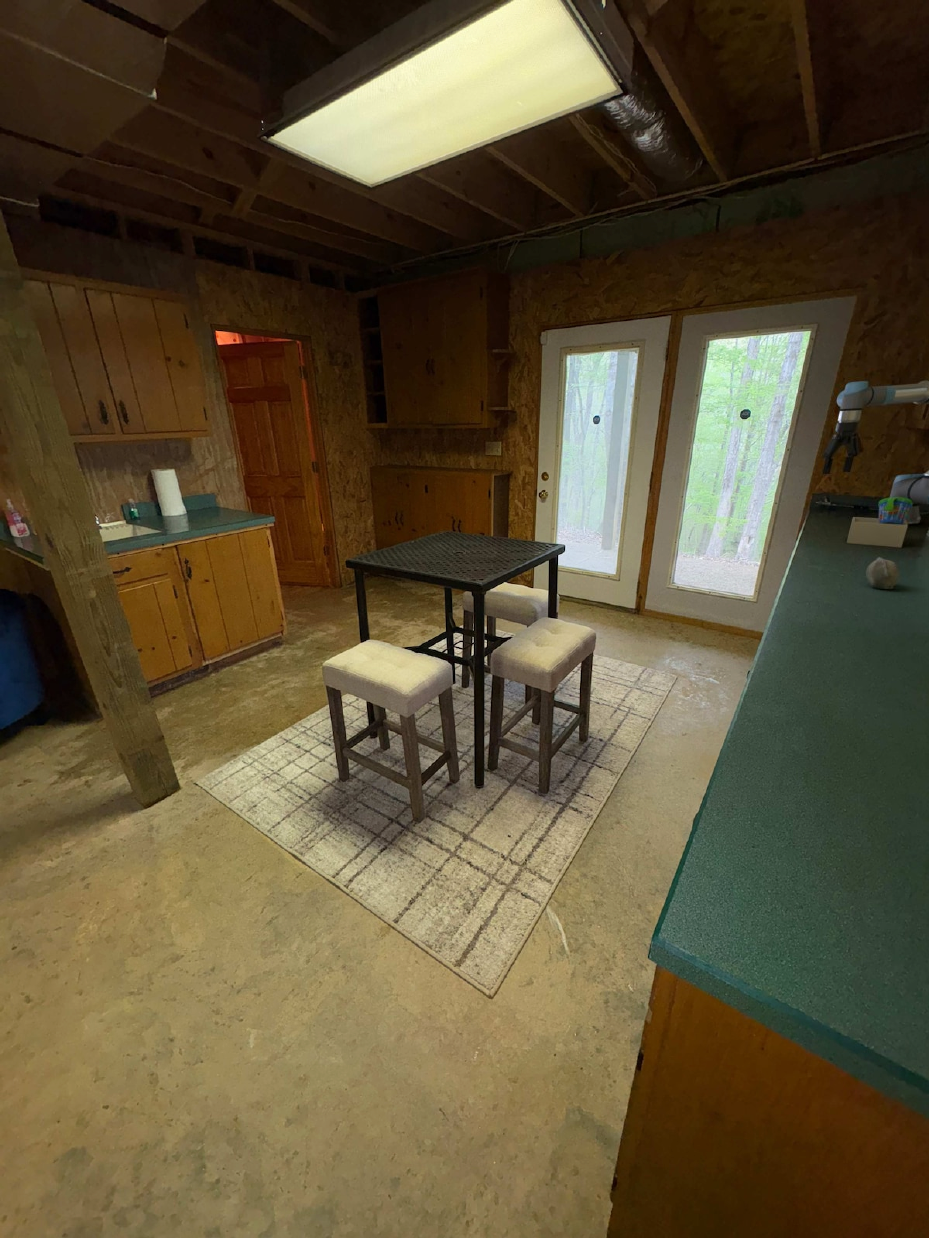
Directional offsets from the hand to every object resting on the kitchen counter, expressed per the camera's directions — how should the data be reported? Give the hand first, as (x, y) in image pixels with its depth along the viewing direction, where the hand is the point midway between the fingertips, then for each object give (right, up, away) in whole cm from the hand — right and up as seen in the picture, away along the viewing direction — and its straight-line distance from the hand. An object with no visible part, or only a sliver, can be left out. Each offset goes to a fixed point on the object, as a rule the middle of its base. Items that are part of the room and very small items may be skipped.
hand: (836, 473), depth 214 cm
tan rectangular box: (+8, -33, -11) cm, 35 cm away
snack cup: (+8, -27, -18) cm, 34 cm away
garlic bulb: (-35, -55, -63) cm, 90 cm away
